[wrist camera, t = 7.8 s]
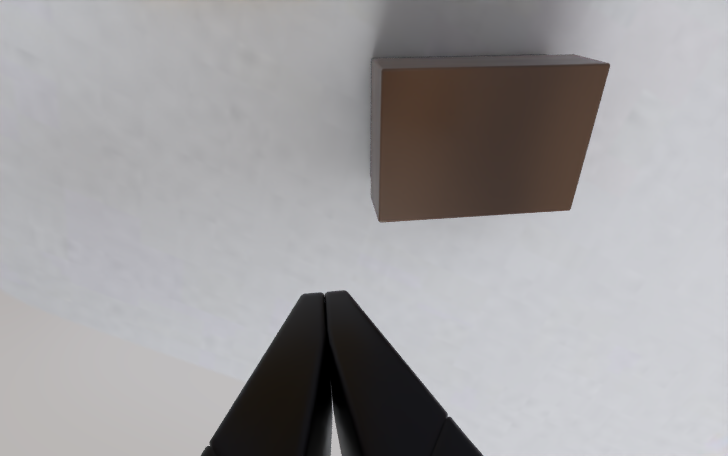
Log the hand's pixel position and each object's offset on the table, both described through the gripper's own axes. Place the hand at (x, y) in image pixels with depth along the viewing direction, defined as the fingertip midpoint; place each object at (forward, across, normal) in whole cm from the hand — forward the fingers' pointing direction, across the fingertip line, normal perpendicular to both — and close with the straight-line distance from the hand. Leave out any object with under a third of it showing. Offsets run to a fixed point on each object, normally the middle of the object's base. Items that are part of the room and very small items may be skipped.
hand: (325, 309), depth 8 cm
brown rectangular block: (+10, -6, -1) cm, 11 cm away
